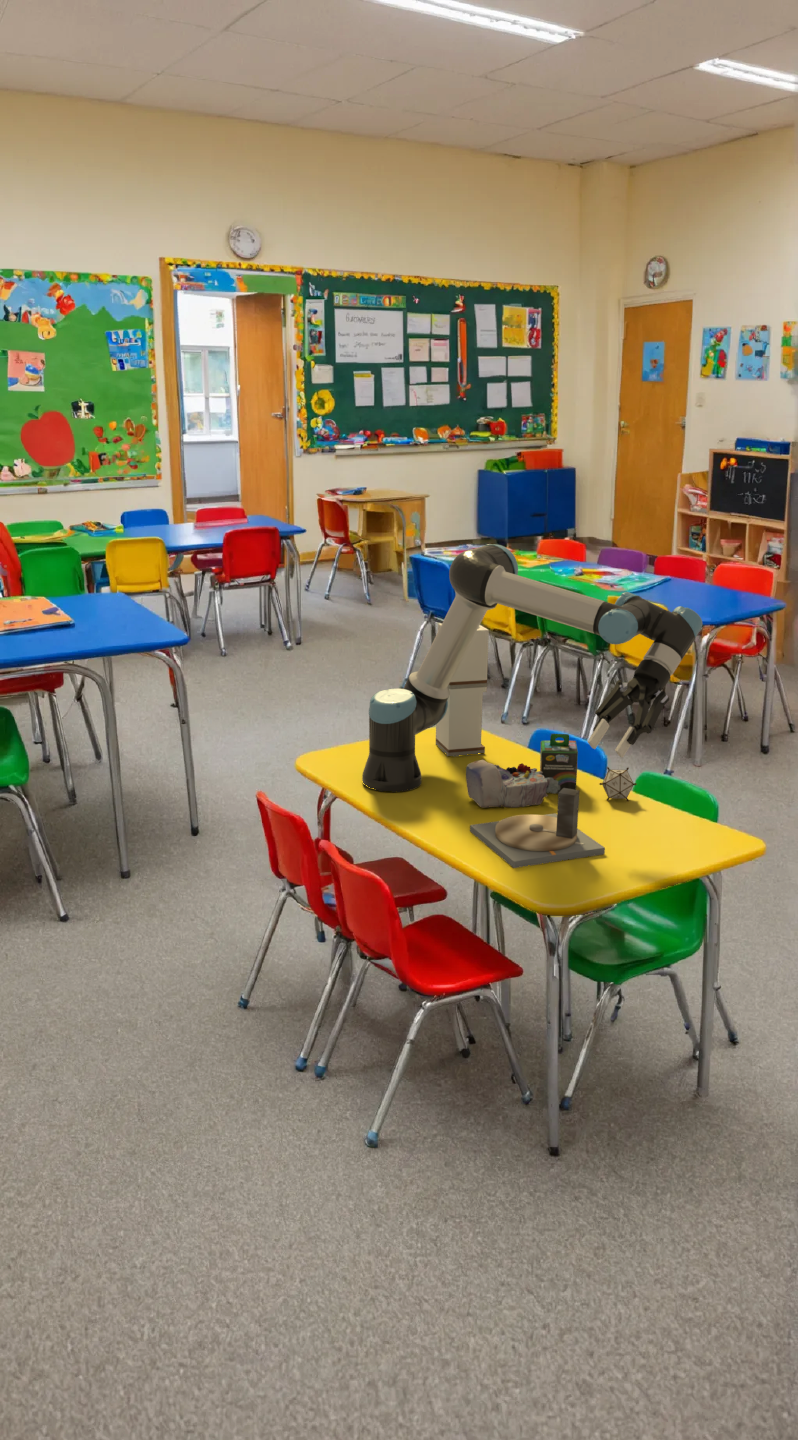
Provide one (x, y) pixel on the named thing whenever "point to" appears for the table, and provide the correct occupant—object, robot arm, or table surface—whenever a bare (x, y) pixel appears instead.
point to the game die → (617, 784)
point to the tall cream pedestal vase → (466, 701)
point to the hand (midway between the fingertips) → (604, 749)
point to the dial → (543, 827)
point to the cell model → (505, 785)
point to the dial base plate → (525, 857)
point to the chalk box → (559, 762)
